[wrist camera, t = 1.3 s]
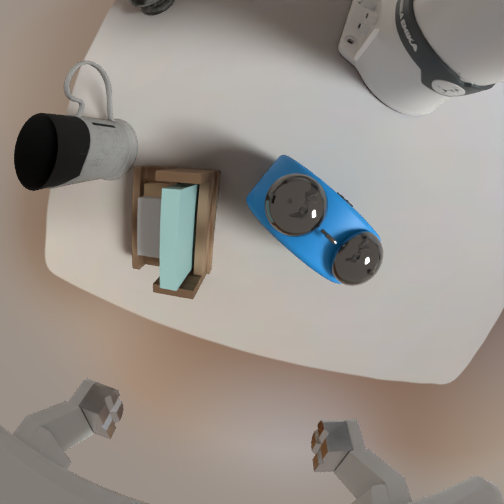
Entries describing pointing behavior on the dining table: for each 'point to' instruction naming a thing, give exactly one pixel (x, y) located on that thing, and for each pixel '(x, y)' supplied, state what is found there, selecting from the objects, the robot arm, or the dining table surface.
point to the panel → (177, 233)
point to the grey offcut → (148, 226)
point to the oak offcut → (154, 189)
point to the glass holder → (74, 145)
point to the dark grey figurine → (152, 5)
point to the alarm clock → (316, 223)
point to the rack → (203, 227)
